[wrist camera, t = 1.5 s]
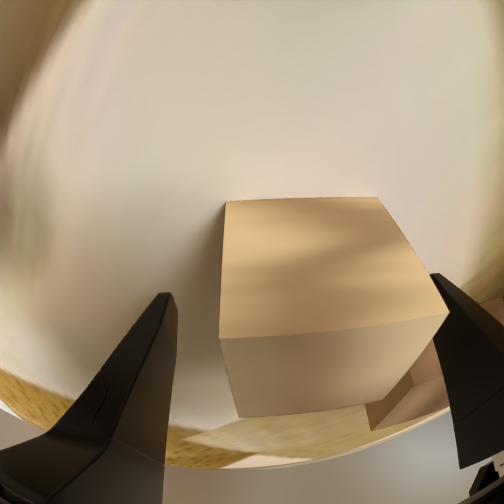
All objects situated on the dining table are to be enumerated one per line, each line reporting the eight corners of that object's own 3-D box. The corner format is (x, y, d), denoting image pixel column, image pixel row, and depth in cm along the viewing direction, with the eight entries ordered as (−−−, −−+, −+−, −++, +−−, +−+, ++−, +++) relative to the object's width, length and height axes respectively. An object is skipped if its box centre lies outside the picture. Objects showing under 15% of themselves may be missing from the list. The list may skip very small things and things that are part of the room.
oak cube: (376, 196, 9) (449, 311, 5) (351, 296, 12) (382, 399, 8) (226, 200, 9) (218, 338, 5) (237, 304, 12) (238, 417, 8)
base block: (499, 293, 14) (525, 339, 11) (451, 361, 20) (465, 399, 17) (391, 321, 14) (414, 385, 11) (360, 386, 20) (370, 431, 17)
